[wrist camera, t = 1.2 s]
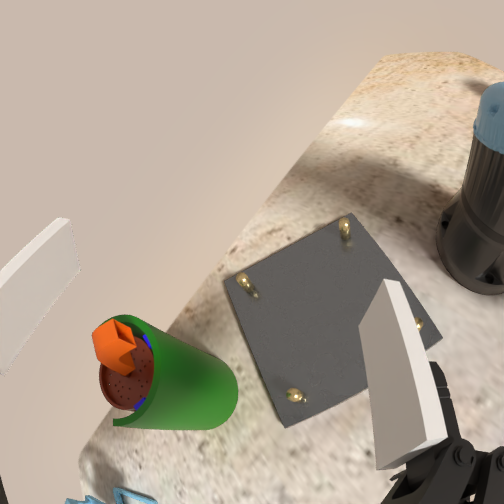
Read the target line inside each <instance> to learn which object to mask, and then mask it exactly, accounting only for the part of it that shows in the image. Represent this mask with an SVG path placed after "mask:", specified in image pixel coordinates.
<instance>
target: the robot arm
mask: <svg viewBox="0 0 504 504" xmlns="http://www.w3.org/2000/svg"><path fill="white" fill-rule="evenodd" d="M473 128H474V135H473V141H472V146H471V151H470V156H469V160H468V165H467V169H466V173H465V177H464V181H463V185H462V187H461V188H460V190H459V191H458V192H457V193H456V194H455V196H454V197H453V198H452V199H451V200H450V201H449V203H448V204H447V205H446V206H445V208H444V210H443V212H442V214H441V216H440V220H439V223H438V227H437V232H436V242H437V248H438V252H439V255H440V257H441V260H442V262H443V263H444V265H445V267H446V268H447V270H448V271H449V273H450V274H451V275H452V276H453V277H454V278H455V279H456V280H457V281H458V282H459V283H460V284H462V285H463V286H464V287H466V288H468V289H470V290H472V291H474V292H476V293H480V294H484V295H496V294H501V293H503V292H504V82H499V83H495V84H493V85H491V86H489V87H488V88H487V89H486V90H485V91H484V92H483V94H482V96H481V99H480V104H479V109H478V113H477V117H476V119H475V121H474V125H473ZM80 271H81V269H80V264H79V260H78V256H77V251H76V247H75V241H74V236H73V231H72V226H71V221H70V220H69V219H64V218H59V217H58V218H57V219H56V220H54V221H53V222H52V223H51V224H50V225H49V226H47V227H46V228H45V229H44V230H43V231H42V232H41V233H39V234H38V235H37V236H36V237H35V238H34V239H33V240H32V241H31V242H29V243H28V244H27V245H26V246H25V247H24V248H23V249H22V250H21V251H20V252H19V253H18V254H17V255H16V256H15V257H14V258H13V259H12V260H10V261H9V262H8V264H7V265H5V267H4V268H3V269H2V270H1V271H0V374H2V375H3V376H5V375H6V373H7V371H8V370H9V368H10V366H11V365H12V363H13V362H14V360H15V359H16V357H17V355H18V354H19V352H20V351H21V349H22V348H23V346H24V345H25V343H26V342H27V340H28V339H29V337H30V336H31V334H32V333H33V332H34V330H35V329H36V327H37V326H38V325H39V323H40V322H41V320H42V319H43V318H44V316H45V315H46V314H47V312H48V311H49V309H50V308H51V307H52V306H53V304H54V303H55V302H56V300H57V299H58V298H59V297H60V295H61V294H62V293H63V291H64V290H65V289H66V288H67V286H68V285H69V284H70V283H71V281H72V280H73V279H74V277H76V275H77V274H78V273H79V272H80ZM358 327H359V333H360V338H361V344H362V349H363V355H364V362H365V368H366V375H367V382H368V389H369V396H370V404H371V413H372V422H373V432H374V443H375V457H376V470H386V469H394V468H397V467H399V466H401V465H403V464H405V463H406V470H404V471H402V472H400V473H398V474H396V475H394V476H393V477H392V478H391V479H390V480H391V481H393V480H395V479H397V478H398V480H397V481H396V482H395V484H394V486H393V487H392V489H391V490H390V492H389V493H388V494H387V496H386V497H385V498H384V500H383V501H382V502H381V504H504V446H500V447H498V448H497V449H495V450H493V451H492V452H490V453H488V452H482V451H477V450H475V449H474V447H473V445H472V444H471V443H470V442H469V441H467V440H465V439H462V438H461V435H460V432H459V428H458V423H457V419H456V415H455V411H454V407H453V403H452V400H451V399H450V393H449V389H448V388H447V382H446V379H445V376H444V373H443V371H442V370H441V368H440V367H439V365H438V364H437V362H430V361H428V358H427V355H426V352H425V349H424V346H423V343H422V340H421V337H420V334H419V331H418V328H417V325H416V322H415V320H414V317H413V314H412V312H411V309H410V306H409V304H408V301H407V299H406V296H405V294H404V291H403V289H402V286H401V284H400V282H398V281H393V280H388V279H383V281H382V283H381V285H380V287H379V289H378V291H377V293H376V295H375V297H374V298H373V300H372V302H371V304H370V306H369V308H368V310H367V312H366V313H365V315H364V317H363V319H362V321H361V322H360V324H359V326H358ZM475 493H476V494H475ZM473 494H475V498H474V501H472V502H470V496H471V495H473ZM0 504H8V501H7V497H6V494H5V491H4V488H3V484H2V480H1V477H0Z"/></svg>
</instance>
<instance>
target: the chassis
mask: <svg viewBox="0 0 504 504" xmlns="http://www.w3.org/2000/svg"><path fill="white" fill-rule="evenodd" d="M383 279H388V280H393V281H398V282H400V284H401V286H402V289H403V291H404V294H405V296H406V299H407V301H408V304H409V306H410V309H411V312H412V314H413V317H414V320H415V322H416V325H417V328H418V331H419V334H420V337H421V340H422V343H423V346H424V349H425V352H426V351H427V350H428V349H430V348H431V347H433V346H434V345H435V344H437V343H438V342H439V341H440V340H441V339H442V338H443V337H442V336H441V334H440V332H439V331H438V329H437V328H436V326H435V325H434V323H433V321H432V320H431V318H430V317H429V315H428V314H427V312H426V311H425V309H424V308H423V306H422V305H421V303H420V302H419V300H418V299H417V297H416V296H415V295H414V293H413V292H412V290H411V289H410V287H409V286H408V285H407V283H406V282H405V280H404V279H403V278H402V276H401V275H400V274H399V272H398V271H397V269H396V268H395V267H394V265H393V264H392V263H391V261H390V260H389V259H388V257H387V256H386V255H385V254H384V252H383V251H382V250H381V248H380V247H379V246H378V244H377V243H376V242H375V241H374V239H373V238H372V237H371V236H370V234H369V233H368V232H367V231H366V229H365V228H364V227H363V226H362V225H361V223H360V222H359V221H358V220H357V218H356V217H355V216H354V215H353V214H352V213H350V214H348V215H346V216H344V217H342V218H341V219H339V220H337V221H335V222H333V223H331V224H330V225H328V226H326V227H324V228H322V229H320V230H319V231H317V232H315V233H313V234H311V235H309V236H307V237H306V238H304V239H302V240H300V241H298V242H296V243H294V244H293V245H291V246H289V247H287V248H285V249H283V250H281V251H280V252H278V253H276V254H274V255H272V256H270V257H268V258H267V259H265V260H263V261H261V262H259V263H257V264H255V265H253V266H252V267H250V268H248V269H246V270H244V271H242V272H240V273H238V274H236V275H235V276H233V277H231V278H229V279H227V280H225V281H224V282H225V285H226V287H227V290H228V293H229V295H230V298H231V300H232V303H233V306H234V308H235V311H236V313H237V316H238V318H239V321H240V323H241V326H242V328H243V331H244V333H245V336H246V338H247V341H248V343H249V346H250V348H251V350H252V353H253V355H254V358H255V360H256V363H257V365H258V367H259V370H260V372H261V375H262V377H263V379H264V382H265V384H266V386H267V389H268V391H269V393H270V396H271V398H272V400H273V403H274V405H275V407H276V410H277V412H278V414H279V416H280V419H281V421H282V423H283V425H284V428H289V427H291V426H293V425H296V424H298V423H300V422H303V421H305V420H307V419H309V418H312V417H314V416H316V415H318V414H320V413H322V412H324V411H326V410H328V409H330V408H332V407H334V406H336V405H338V404H340V403H342V402H344V401H346V400H348V399H350V398H352V397H354V396H355V395H357V394H359V393H361V392H363V391H364V390H366V389H368V382H367V375H366V368H365V362H364V355H363V349H362V344H361V338H360V333H359V327H358V326H359V324H360V322H361V321H362V319H363V317H364V315H365V313H366V312H367V310H368V308H369V306H370V304H371V302H372V300H373V298H374V297H375V295H376V293H377V291H378V289H379V287H380V285H381V283H382V281H383Z"/></svg>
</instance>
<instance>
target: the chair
mask: <svg viewBox="0 0 504 504" xmlns="http://www.w3.org/2000/svg"><path fill="white" fill-rule="evenodd" d="M113 493H114V498H115V501H116V504H124V503H123V501H122V498H121V494H124V495H126V496H129V497H131V498H134V499H136V500H139V501H142V502H145V503H148V504H158V503H157V501H156V500H153V499H149V498H146V497H143V496H140V495H137V494H134V493H132V492H129V491H126V490H123V489H121V488H113ZM120 493H121V494H120ZM65 504H105V503H103V502H101V501H100V500H98V499H96V498H94V497H92V496H90V495H86V496H85V501H77V500H73V499H68V498H67V499H66V502H65Z"/></svg>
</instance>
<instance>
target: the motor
mask: <svg viewBox="0 0 504 504" xmlns="http://www.w3.org/2000/svg"><path fill="white" fill-rule="evenodd" d="M92 339H93V343H94V347H95V352H96V356H97V359H98V360H99V361H100V362H101V365H100V372H99V381H100V386H101V390H102V392H103V395H104V396H105V398H106V400H107V401H108V402H109V403H110V404H111V405H112V406H114V407H116V408H118V409H121V410H128V411H134V413H133V414H131V415H129V416H127V417H124V418H120V419H113V426H119V427H129V428H141V429H159V430H209V429H213V428H216V427H218V426H220V425H221V424H223V423H224V422H225V421H226V420H227V419H228V418H229V417H230V416H231V414H232V413H233V411H234V409H235V407H236V404H237V400H238V385H237V381H236V378H235V376H234V374H233V372H232V370H231V369H230V368H229V367H228V365H227V364H225V363H224V362H223V361H221V360H220V359H218V358H216V357H214V356H211V355H209V354H207V353H205V352H203V351H201V350H199V349H197V348H195V347H193V346H190V345H188V344H186V343H184V342H182V341H180V340H178V339H176V338H175V337H173V336H171V335H169V334H167V333H165V332H163V331H161V330H159V329H157V328H155V327H154V326H152V325H150V324H148V323H146V322H144V321H143V320H141V319H139V318H137V317H134V316H131V315H118V316H115V317H112V318H110V319H108V320H106V321H105V322H104V323H102V324H101V325H100V326H99V327H98V328H97V329H95V331H94V332H93V333H92ZM109 384H110V385H109Z"/></svg>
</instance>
